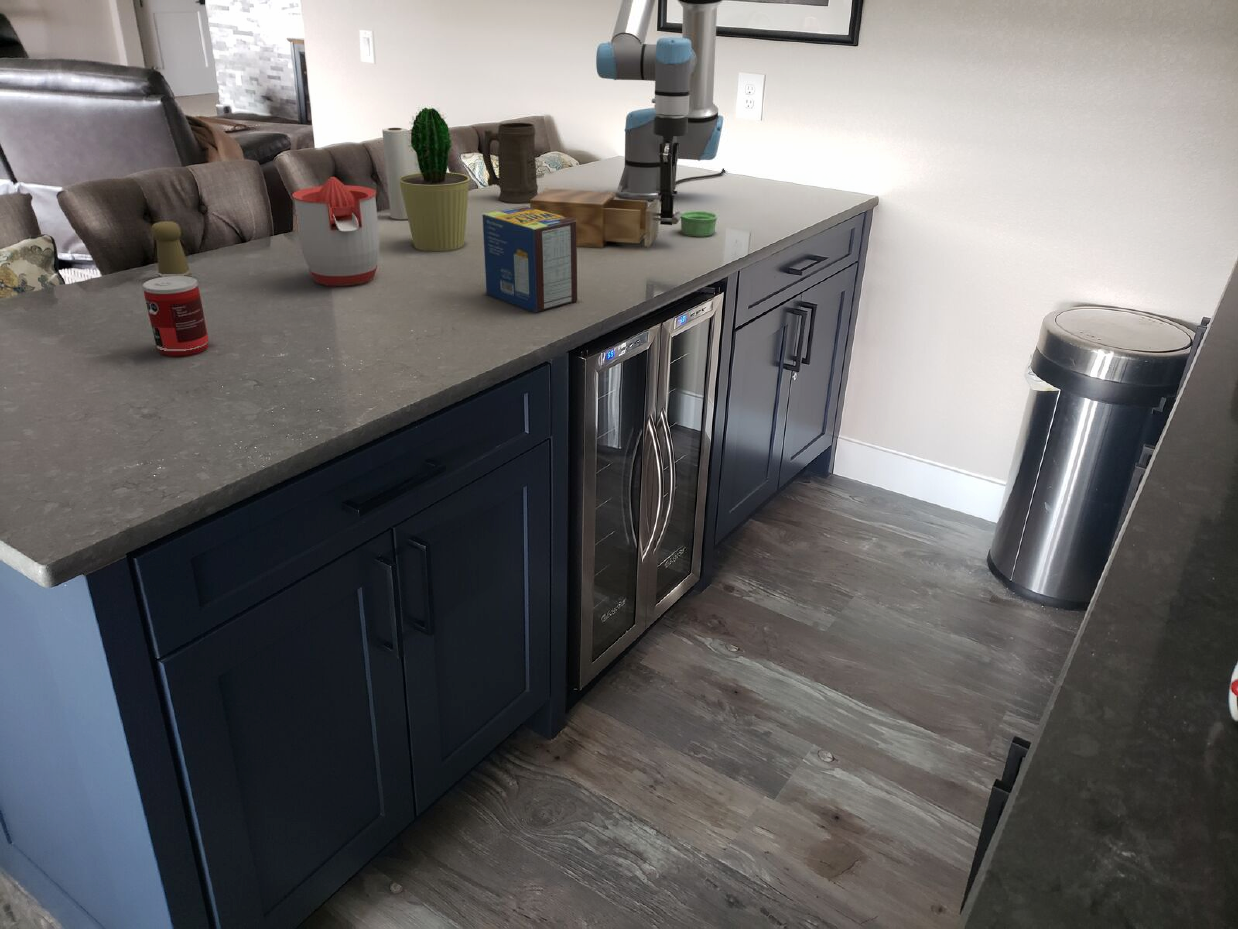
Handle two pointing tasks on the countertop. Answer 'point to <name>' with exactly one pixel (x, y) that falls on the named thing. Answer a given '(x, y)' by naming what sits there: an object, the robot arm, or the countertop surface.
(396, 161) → the paper towel roll
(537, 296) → the protein box
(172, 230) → the cork
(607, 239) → the wooden drawer
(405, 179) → the potted cactus
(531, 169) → the beer stein
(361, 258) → the citrus juicer
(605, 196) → the cabinet
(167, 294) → the canned food
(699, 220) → the ramekin
